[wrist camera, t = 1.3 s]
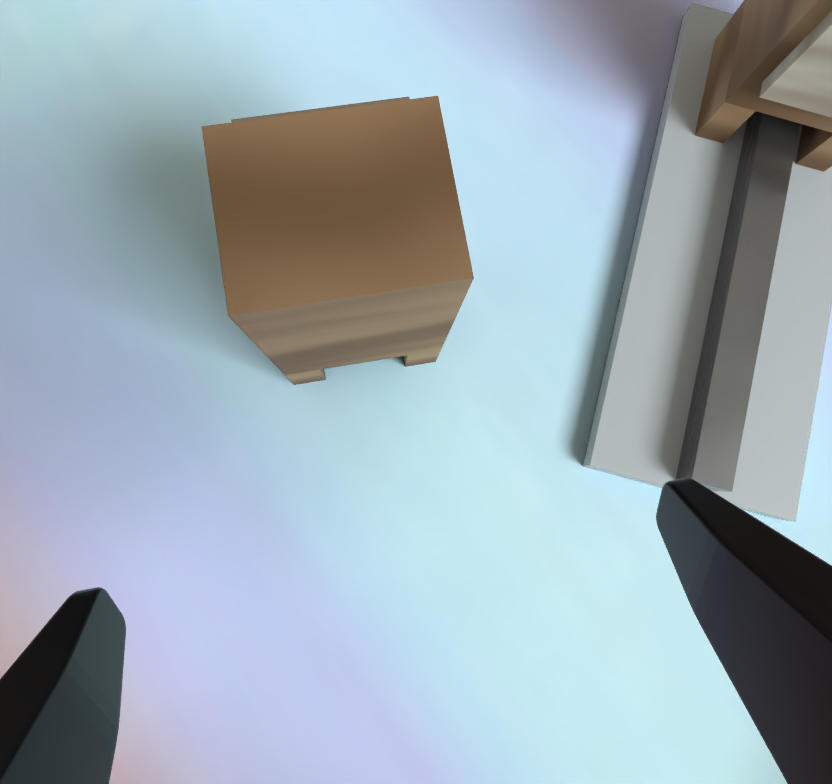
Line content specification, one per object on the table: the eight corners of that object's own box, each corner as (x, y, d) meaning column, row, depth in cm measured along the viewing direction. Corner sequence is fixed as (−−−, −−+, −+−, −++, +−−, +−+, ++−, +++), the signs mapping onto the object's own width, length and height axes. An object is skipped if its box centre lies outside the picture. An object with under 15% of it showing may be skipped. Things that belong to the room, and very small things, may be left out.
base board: (781, 519, 23) (795, 521, 23) (583, 466, 23) (589, 465, 22) (858, 67, 26) (873, 54, 26) (683, 17, 26) (692, 3, 25)
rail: (713, 490, 23) (731, 491, 21) (675, 480, 23) (691, 481, 21) (799, 39, 25) (819, 18, 24) (765, 30, 25) (783, 8, 24)
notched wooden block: (435, 361, 24) (473, 277, 14) (294, 384, 23) (228, 315, 13) (412, 238, 24) (433, 72, 14) (275, 258, 24) (198, 102, 14)
